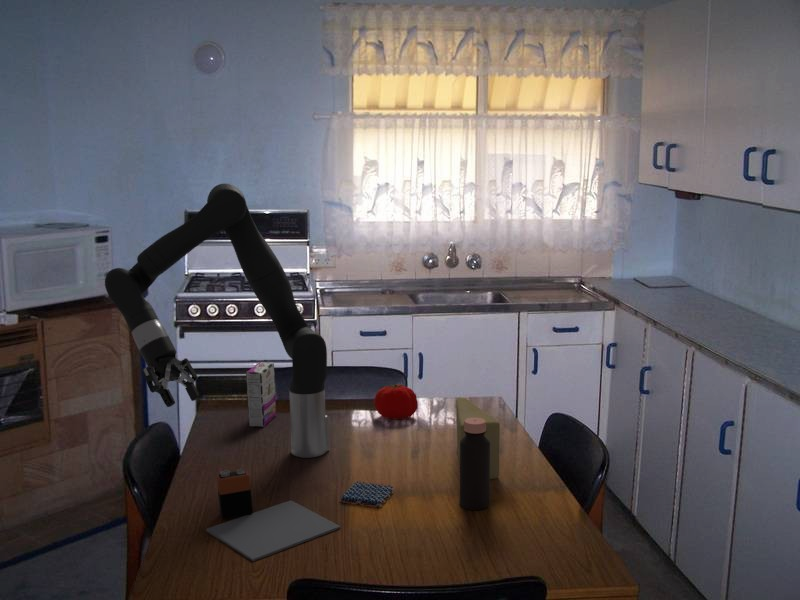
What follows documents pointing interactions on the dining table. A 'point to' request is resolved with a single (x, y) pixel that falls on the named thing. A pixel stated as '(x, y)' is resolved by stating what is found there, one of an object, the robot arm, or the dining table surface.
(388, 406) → the tomato
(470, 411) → the cheese
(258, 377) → the candy bar box
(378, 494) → the woven mat
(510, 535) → the dining table surface
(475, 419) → the bottle
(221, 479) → the battery
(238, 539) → the rubber mat
